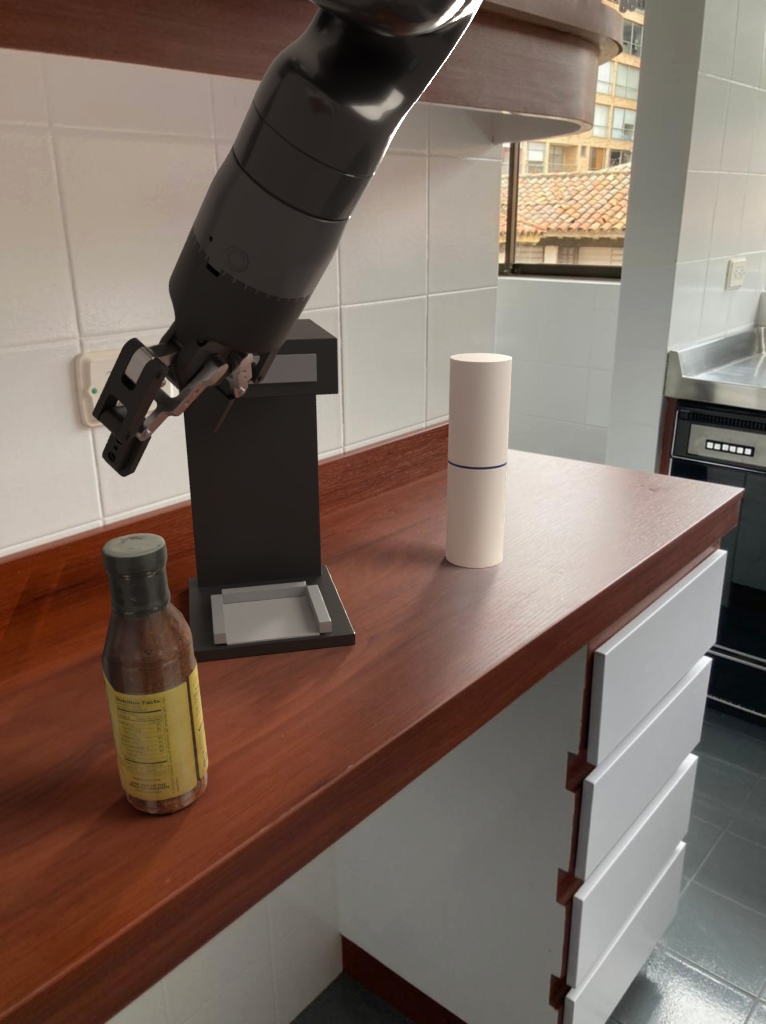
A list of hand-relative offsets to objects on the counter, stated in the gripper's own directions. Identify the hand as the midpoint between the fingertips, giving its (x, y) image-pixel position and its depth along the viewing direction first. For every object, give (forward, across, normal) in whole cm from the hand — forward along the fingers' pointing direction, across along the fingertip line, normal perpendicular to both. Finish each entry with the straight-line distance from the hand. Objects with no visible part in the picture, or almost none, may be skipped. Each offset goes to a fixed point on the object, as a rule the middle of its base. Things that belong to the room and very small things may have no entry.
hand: (161, 445), depth 55 cm
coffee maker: (+28, -21, +9) cm, 36 cm away
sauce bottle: (+19, +7, +16) cm, 26 cm away
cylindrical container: (+22, -46, +22) cm, 55 cm away
